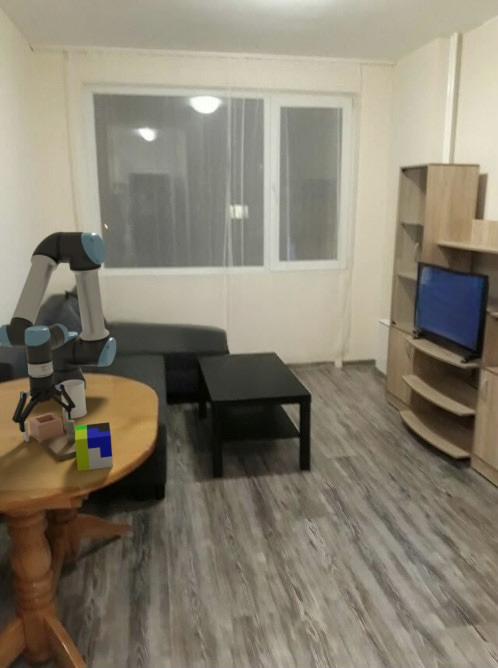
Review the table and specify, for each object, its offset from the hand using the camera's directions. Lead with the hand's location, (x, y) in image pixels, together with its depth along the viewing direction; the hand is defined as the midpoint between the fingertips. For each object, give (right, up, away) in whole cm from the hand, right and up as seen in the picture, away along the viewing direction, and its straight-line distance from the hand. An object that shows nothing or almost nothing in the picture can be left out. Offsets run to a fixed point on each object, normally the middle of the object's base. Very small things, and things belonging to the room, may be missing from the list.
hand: (46, 434), depth 183 cm
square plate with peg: (+11, -2, -7) cm, 13 cm away
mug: (+4, +4, +16) cm, 17 cm away
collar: (0, 0, 0) cm, 0 cm away
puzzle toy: (+21, -5, -17) cm, 27 cm away
